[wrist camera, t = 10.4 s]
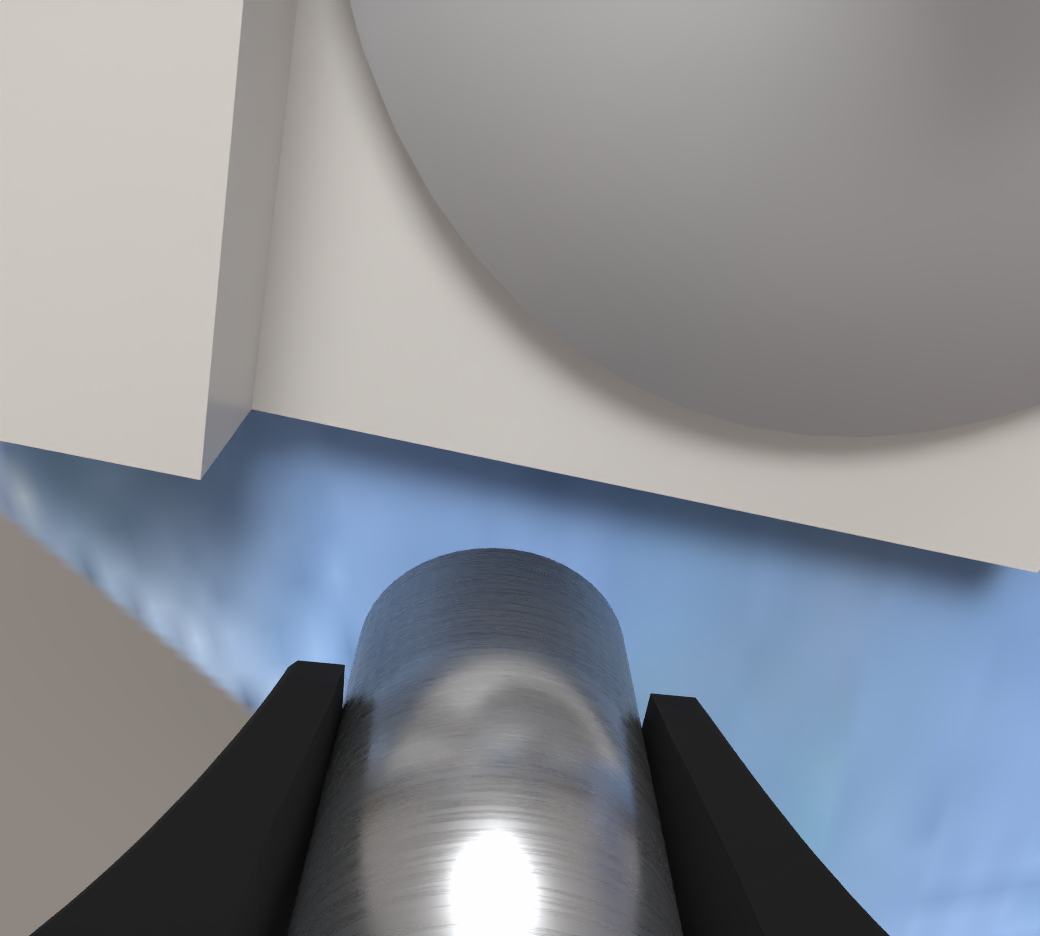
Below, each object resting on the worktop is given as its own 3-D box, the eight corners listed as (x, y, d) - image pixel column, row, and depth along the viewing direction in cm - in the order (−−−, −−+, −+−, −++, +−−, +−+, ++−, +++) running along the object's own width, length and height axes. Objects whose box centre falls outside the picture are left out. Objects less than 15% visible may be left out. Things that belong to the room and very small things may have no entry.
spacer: (664, 585, 12) (790, 1015, 7) (576, 780, 14) (621, 1246, 8) (391, 518, 12) (294, 929, 6) (334, 729, 13) (218, 1196, 8)
